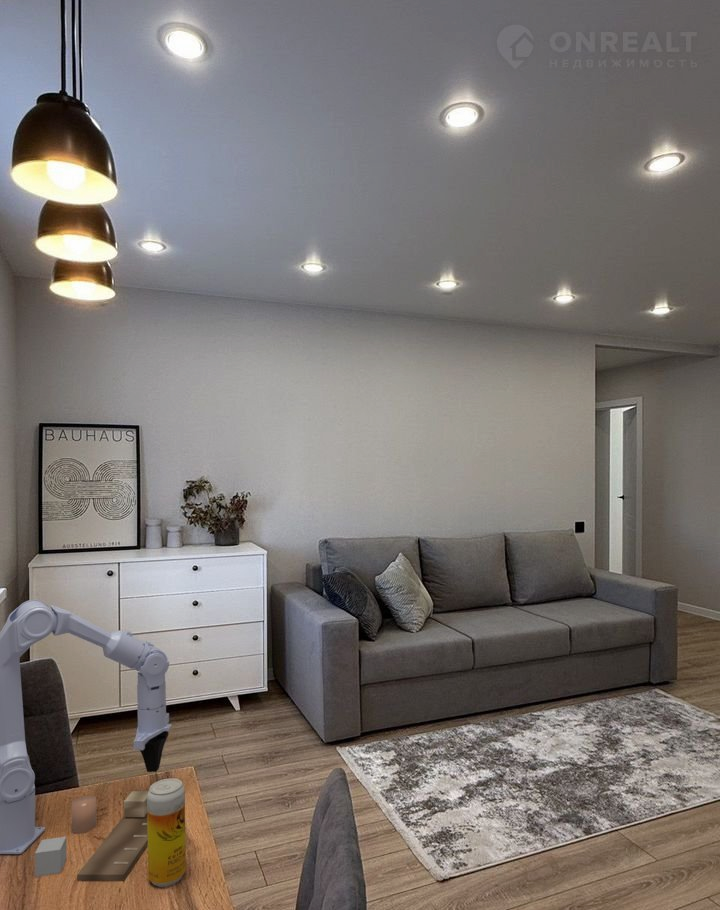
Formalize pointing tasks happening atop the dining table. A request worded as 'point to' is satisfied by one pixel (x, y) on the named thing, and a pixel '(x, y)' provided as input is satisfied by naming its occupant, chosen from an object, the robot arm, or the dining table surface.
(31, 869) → the dining table surface
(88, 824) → the terracotta cylinder
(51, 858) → the grey cube
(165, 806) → the beer can
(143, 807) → the birch slider
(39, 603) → the robot arm
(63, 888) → the dining table surface
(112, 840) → the board
